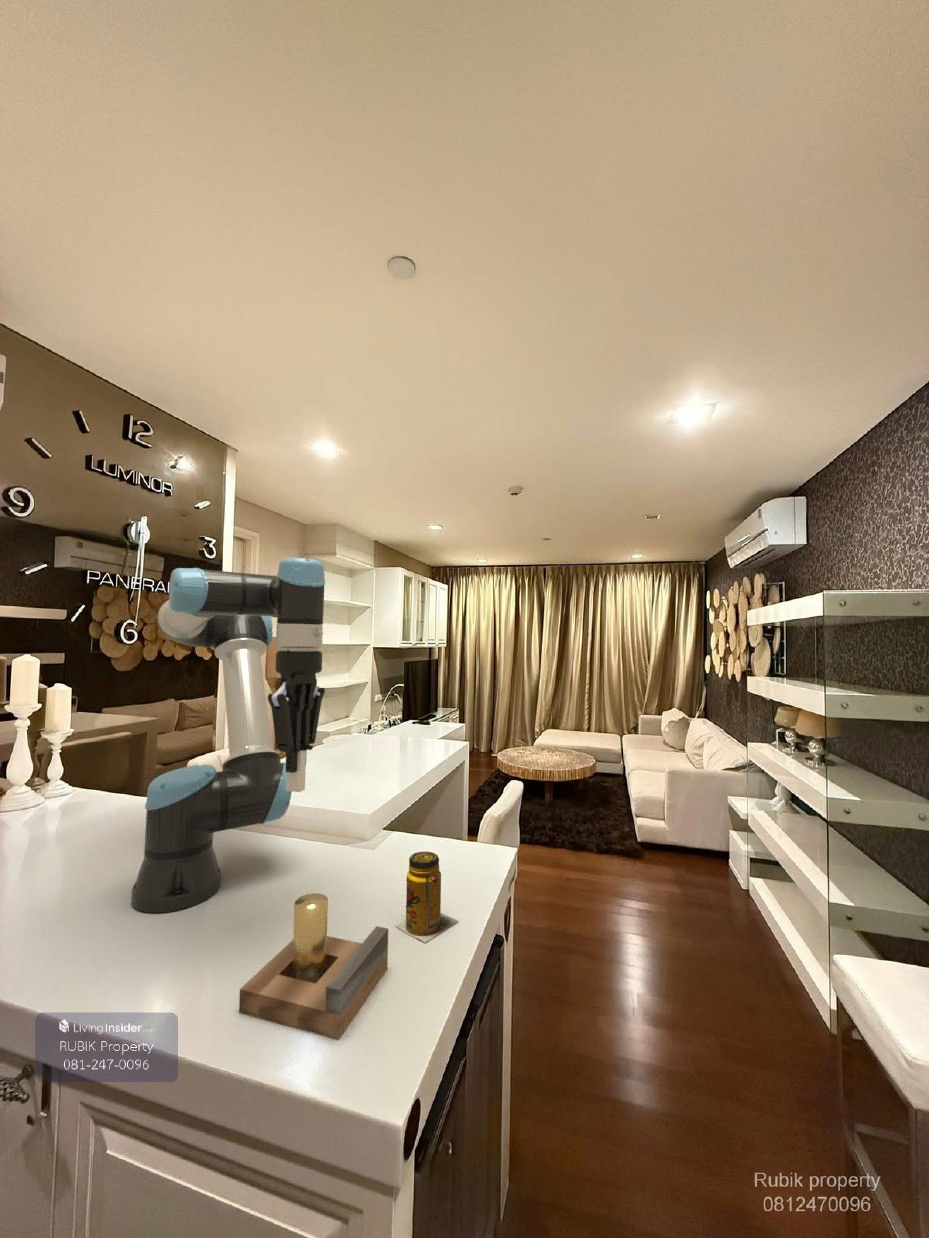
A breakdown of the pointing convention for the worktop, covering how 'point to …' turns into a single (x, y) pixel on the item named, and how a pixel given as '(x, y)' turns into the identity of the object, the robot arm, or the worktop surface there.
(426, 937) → the condiment
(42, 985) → the worktop surface
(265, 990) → the jig
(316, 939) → the brass cylinder
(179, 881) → the robot arm
